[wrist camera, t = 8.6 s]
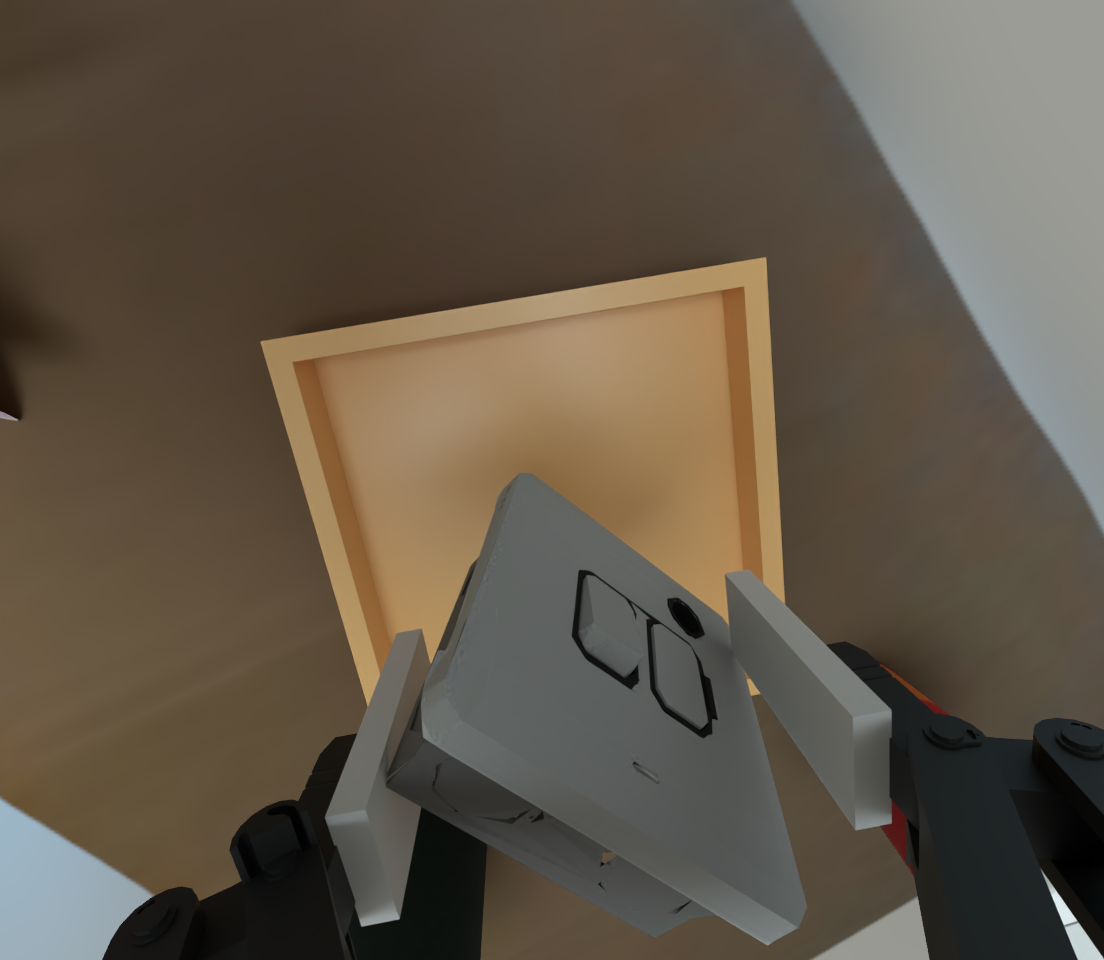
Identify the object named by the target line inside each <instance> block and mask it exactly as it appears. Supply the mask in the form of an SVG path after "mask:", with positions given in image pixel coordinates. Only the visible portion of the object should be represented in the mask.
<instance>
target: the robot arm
mask: <svg viewBox="0 0 1104 960" xmlns="http://www.w3.org/2000/svg"><path fill="white" fill-rule="evenodd" d="M725 583H726V594H727V606H728V618H729V629H730V641H731V650H732V652H733V654H734V656H735V657H736V659H737V660H738V662H739V663H740V665H741V666H742V667H743V669H744V670H745V672H746V673H747V675H748V676H749V678H750V679H751V680H752V682H753V683H754V685H755V686H756V688H757V689H758V691H759V692H760V693H761V695H762V696H763V698H764V699H765V701H766V702H767V704H768V705H769V706H770V708H771V709H772V711H773V712H774V714H775V715H776V717H777V718H778V719H779V721H780V722H781V724H782V725H783V727H784V728H785V730H786V731H787V732H788V734H789V735H790V737H791V738H792V740H793V741H794V743H795V744H796V745H797V747H798V748H799V750H800V751H801V753H802V754H803V756H804V757H805V758H806V760H807V761H808V763H809V764H810V766H811V767H812V769H813V770H814V771H815V773H816V774H817V776H818V777H819V779H820V780H821V782H822V783H823V784H824V786H825V787H826V789H827V790H828V792H829V793H830V794H831V796H832V797H833V799H834V800H835V802H836V803H837V805H838V806H839V807H840V809H841V810H842V812H843V813H844V815H845V816H846V818H847V819H848V820H849V822H850V823H851V825H852V826H853V828H854V829H855V830H860V829H866V828H871V827H876V826H881V825H886V824H891V823H892V801H893V802H894V803H895V804H896V806H897V807H898V808H899V809H900V810H901V812H902V813H903V814H904V815H905V817H906V864H907V865H911V866H912V868H913V873H914V879H915V884H916V889H917V895H918V900H919V905H920V910H921V916H922V921H923V927H924V932H925V937H926V943H927V948H928V953H929V959H930V960H1078V959H1077V956H1076V954H1075V952H1074V949H1073V947H1072V944H1071V942H1070V939H1069V937H1068V934H1067V932H1066V929H1065V927H1064V925H1063V922H1062V920H1061V917H1060V915H1059V912H1058V910H1057V907H1056V905H1055V902H1054V900H1053V898H1052V895H1051V893H1050V890H1049V888H1048V885H1047V883H1046V880H1045V878H1044V876H1043V873H1044V874H1045V876H1046V877H1047V878H1048V880H1049V881H1050V883H1051V884H1052V886H1053V887H1054V888H1055V890H1056V891H1057V893H1058V894H1059V896H1060V897H1061V898H1062V900H1063V901H1064V903H1065V904H1066V906H1067V907H1068V908H1069V910H1070V911H1071V913H1072V914H1073V916H1074V917H1075V918H1076V920H1077V921H1078V923H1079V924H1080V926H1081V927H1082V928H1083V930H1084V931H1085V933H1086V934H1087V936H1088V937H1089V938H1090V940H1091V941H1092V943H1093V944H1094V946H1095V947H1096V948H1097V950H1098V951H1099V953H1100V954H1101V956H1102V957H1103V958H1104V730H1102V729H1100V728H1098V727H1096V726H1094V725H1091V724H1087V723H1084V722H1080V721H1076V720H1072V719H1061V718H1053V719H1046V720H1042V721H1041V722H1039V723H1038V724H1036V725H1035V727H1034V734H1033V740H1022V739H1004V738H992V737H985V736H984V734H983V733H982V732H981V731H980V730H978V729H977V728H976V727H974V726H973V725H972V724H970V723H968V722H966V721H963V720H961V719H959V718H957V717H953V716H949V715H944V714H940V713H934V712H933V711H932V710H931V709H930V708H929V707H927V706H926V705H925V704H924V703H923V702H922V701H921V700H920V699H919V698H917V697H916V696H915V695H914V694H913V693H912V692H911V691H910V690H908V689H907V688H906V687H905V686H904V685H903V684H902V683H901V682H899V681H898V680H897V679H896V678H895V677H894V678H893V677H892V674H891V673H889V672H888V671H887V670H886V669H885V668H884V667H881V666H880V664H879V663H878V662H877V661H876V660H875V659H874V658H873V657H872V656H870V655H869V654H868V653H867V652H866V651H864V650H862V649H860V648H858V647H856V646H854V645H852V644H849V643H847V642H840V643H834V644H829V645H825V644H824V643H823V642H822V641H821V640H820V639H819V638H818V637H817V636H816V635H815V634H814V633H813V632H812V631H811V630H810V629H809V628H808V627H807V626H806V625H805V624H804V623H803V622H802V621H801V620H800V619H799V618H798V617H797V616H796V615H795V614H794V613H793V612H792V611H791V610H790V609H789V608H788V607H787V606H786V605H785V604H784V603H783V602H782V601H781V600H780V599H779V598H778V597H777V596H776V595H775V594H774V593H773V592H772V591H771V590H770V589H769V588H767V587H766V586H765V585H764V584H763V583H762V582H761V581H760V580H759V579H758V578H757V577H756V576H755V575H754V574H753V573H752V572H751V571H750V570H749V569H747V570H742V571H736V572H731V573H725ZM430 666H431V664H430V660H429V656H428V652H427V648H426V644H425V640H424V636H423V632H422V629H416V630H411V631H405V632H400V633H396V636H395V639H394V641H393V644H392V646H391V649H390V651H389V654H388V657H387V659H386V662H385V664H384V667H383V669H382V672H381V675H380V677H379V680H378V682H377V685H376V687H375V690H374V692H373V695H372V698H371V700H370V703H369V705H368V708H367V710H366V713H365V716H364V718H363V721H362V723H361V726H360V728H359V731H358V733H357V734H352V735H346V736H341V737H335V738H334V740H333V741H332V742H331V743H330V744H329V745H328V746H327V747H326V748H325V749H324V750H323V752H322V753H321V754H320V755H319V758H318V760H317V762H316V764H315V766H314V769H313V771H312V775H310V777H309V779H308V782H307V784H306V786H305V787H306V789H305V790H303V792H302V795H301V797H300V799H299V801H296V800H285V801H279V802H276V803H274V804H271V805H269V806H266V807H265V808H263V809H261V810H260V811H258V812H257V813H255V814H254V815H252V816H251V817H250V818H249V819H248V820H247V821H246V822H245V823H244V824H243V825H241V826H240V828H239V829H238V831H237V832H236V834H235V835H234V837H233V838H232V842H231V846H230V853H231V855H232V858H233V860H234V863H235V865H236V868H237V870H238V873H239V875H240V878H241V880H242V881H241V882H239V883H237V884H235V885H234V886H232V887H230V888H227V889H225V890H223V891H221V892H219V893H216V894H214V895H212V896H210V897H208V898H206V899H203V900H201V901H199V900H198V898H197V895H196V894H195V893H194V891H193V890H192V889H191V888H186V887H177V888H173V889H168V890H166V891H164V892H162V893H160V894H158V895H156V896H154V897H152V898H150V899H149V900H148V901H146V902H145V903H143V904H142V905H141V906H139V907H138V908H137V909H135V910H134V911H133V912H132V913H131V914H130V916H129V917H128V918H127V919H126V920H125V921H124V922H123V923H122V924H121V925H120V927H119V928H118V930H117V931H116V933H115V935H114V936H113V938H112V939H111V941H110V944H109V946H108V948H107V950H106V953H105V955H104V957H103V959H102V960H357V958H356V954H355V950H354V946H353V942H352V939H351V936H350V933H349V931H348V928H349V924H350V921H351V917H352V913H353V910H354V906H355V909H356V911H357V914H358V917H359V920H360V923H361V926H368V925H373V924H378V923H383V922H388V921H393V920H398V919H400V914H401V909H402V904H403V899H404V894H405V889H406V883H407V878H408V873H409V868H410V863H411V858H412V852H413V847H414V842H415V837H416V832H417V827H418V821H419V816H420V811H421V807H420V806H419V805H417V804H415V803H413V802H412V801H410V800H408V799H406V798H404V797H403V796H401V795H399V794H397V793H396V792H394V791H392V790H390V789H389V788H387V787H386V784H387V781H388V780H389V779H390V778H391V777H392V776H393V775H395V774H396V773H397V772H398V771H399V770H400V769H401V768H402V767H403V766H405V765H406V764H407V763H408V762H409V761H410V760H409V761H408V762H407V763H405V764H404V765H403V766H402V767H400V768H399V769H398V770H396V771H395V772H394V773H393V774H391V775H390V776H389V777H388V778H386V777H387V774H388V771H389V768H390V766H391V763H392V761H393V758H394V756H395V753H396V751H397V748H398V746H399V743H400V741H401V738H402V736H403V733H404V731H405V728H406V726H407V723H408V721H409V718H410V716H411V713H412V711H413V708H414V706H415V703H416V701H417V698H418V696H419V693H420V691H421V688H422V686H423V683H424V681H425V678H426V676H427V673H428V671H429V668H430ZM1041 870H1042V871H1043V873H1042V871H1041Z"/></svg>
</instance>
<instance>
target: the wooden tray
mask: <svg viewBox="0 0 1104 960" xmlns="http://www.w3.org/2000/svg"><path fill="white" fill-rule="evenodd" d="M260 342H261V345H262V349H263V352H264V355H265V359H266V362H267V366H268V369H269V372H270V376H271V379H272V383H273V386H274V389H275V393H276V396H277V400H278V403H279V406H280V410H281V413H282V417H283V420H284V423H285V427H286V430H287V434H288V437H289V440H290V444H291V447H292V451H293V454H294V457H295V461H296V464H297V468H298V471H299V474H300V478H301V481H302V484H303V488H304V491H305V495H306V498H307V501H308V505H309V508H310V512H311V515H312V518H313V522H314V525H315V529H316V532H317V535H318V539H319V542H320V546H321V549H322V552H323V556H324V559H325V563H326V566H327V569H328V573H329V576H330V580H331V583H332V586H333V590H334V593H335V597H336V600H337V603H338V607H339V610H340V614H341V617H342V620H343V624H344V627H345V631H346V634H347V637H348V641H349V644H350V648H351V651H352V654H353V658H354V661H355V665H356V668H357V671H358V675H359V678H360V682H361V685H362V688H363V692H364V695H365V699H366V702H367V705H369V703H370V700H371V698H372V695H373V692H374V690H375V687H376V685H377V682H378V680H379V677H380V675H381V672H382V669H383V667H384V664H385V662H386V659H387V657H388V654H389V651H390V649H391V646H392V644H393V641H394V639H395V636H396V633H400V632H405V631H411V630H416V629H422V632H423V636H424V640H425V644H426V648H427V652H428V656H429V660H430V664H431V663H432V661H433V658H434V656H435V653H436V651H437V648H438V646H439V643H440V641H441V638H442V636H443V633H444V631H445V628H446V626H447V623H448V621H449V618H450V616H451V613H452V611H453V608H454V606H455V603H456V601H457V598H458V596H459V593H460V591H461V588H462V586H463V583H464V581H465V578H466V576H467V573H468V571H469V568H470V566H471V565H472V564H473V563H474V561H475V560H476V559H477V558H478V557H479V555H480V552H481V549H482V546H483V543H484V540H485V537H486V534H487V531H488V528H489V525H490V522H491V519H492V517H493V514H494V512H495V506H496V502H497V499H498V496H499V495H500V493H501V492H502V490H503V489H504V488H505V487H506V486H507V485H508V484H509V483H510V482H511V481H512V480H513V479H514V478H515V477H516V476H517V475H518V474H519V473H532V474H533V475H535V476H536V477H538V478H539V479H541V480H542V481H543V482H545V483H546V484H547V485H549V486H550V487H551V488H553V489H554V490H555V491H557V492H558V493H559V494H561V495H562V496H563V497H565V498H566V499H567V500H569V501H570V502H571V503H573V504H574V505H575V506H577V507H578V508H579V509H580V510H582V511H583V512H584V513H586V514H587V515H588V516H590V517H591V518H592V519H594V520H595V521H596V522H598V523H599V524H600V525H602V526H603V527H604V528H606V529H607V530H608V531H610V532H611V533H612V534H614V535H615V536H616V537H617V538H619V539H620V540H621V541H623V542H624V543H625V544H627V545H628V546H629V547H631V548H632V549H633V550H635V551H636V552H637V553H639V554H640V555H641V556H643V557H644V558H645V559H647V560H648V561H649V562H651V563H652V564H653V565H654V566H656V567H657V568H658V569H660V570H661V571H662V572H664V573H665V574H666V575H668V576H669V577H670V578H672V579H673V580H674V581H676V582H677V583H678V584H680V585H681V586H682V587H684V588H685V589H686V590H688V591H689V592H690V593H692V594H693V595H694V596H695V597H697V598H698V599H699V600H701V601H702V602H703V603H705V604H706V605H707V606H709V607H710V608H711V609H713V610H714V611H715V612H717V613H718V614H719V615H720V616H722V617H723V619H724V620H725V622H726V623H727V624H728V626H729V618H728V606H727V594H726V583H725V573H731V572H736V571H742V570H747V569H749V570H750V571H751V572H752V573H753V574H754V575H755V576H756V577H757V578H758V579H759V580H760V581H761V582H762V583H763V584H764V585H765V586H766V587H767V588H769V589H770V590H771V591H772V592H773V593H774V594H775V595H776V596H777V597H778V598H779V599H780V600H781V601H782V602H783V603H784V604H785V596H784V578H783V559H782V541H781V522H780V504H779V486H778V467H777V449H776V430H775V412H774V393H773V375H772V357H771V338H770V320H769V301H768V283H767V264H766V257H764V258H758V259H752V260H746V261H740V262H734V263H728V264H722V265H716V266H710V267H704V268H698V269H692V270H686V271H680V272H674V273H668V274H662V275H656V276H650V277H644V278H638V279H632V280H626V281H620V282H614V283H608V284H602V285H596V286H590V287H584V288H578V289H572V290H566V291H560V292H554V293H548V294H542V295H536V296H530V297H524V298H518V299H512V300H506V301H500V302H494V303H488V304H482V305H476V306H470V307H464V308H458V309H452V310H446V311H440V312H434V313H428V314H422V315H416V316H410V317H404V318H398V319H392V320H386V321H380V322H374V323H368V324H362V325H356V326H350V327H344V328H338V329H332V330H326V331H320V332H314V333H308V334H302V335H296V336H290V337H284V338H278V339H272V340H266V341H260ZM744 671H745V670H744ZM745 675H746V678H747V682H748V686H749V690H750V694H751V696H752V695H757V694H761V693H760V692H759V691H758V689H757V688H756V686H755V685H754V683H753V682H752V680H751V679H750V678H749V676H748V675H747V673H746V672H745Z"/></svg>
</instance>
